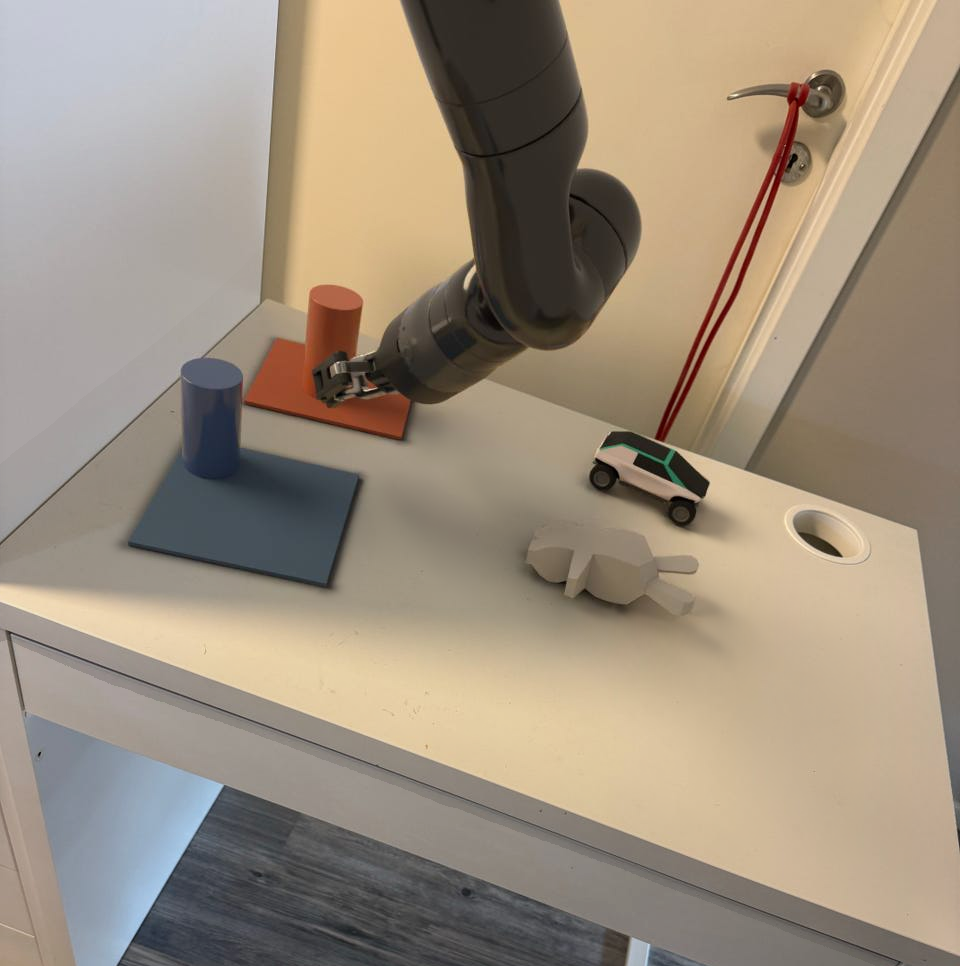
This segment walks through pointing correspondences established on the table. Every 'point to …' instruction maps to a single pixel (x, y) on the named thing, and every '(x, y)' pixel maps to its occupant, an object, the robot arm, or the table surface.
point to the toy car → (649, 473)
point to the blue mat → (253, 516)
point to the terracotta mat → (285, 394)
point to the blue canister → (211, 417)
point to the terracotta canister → (330, 328)
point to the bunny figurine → (608, 564)
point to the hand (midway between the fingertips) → (371, 394)
